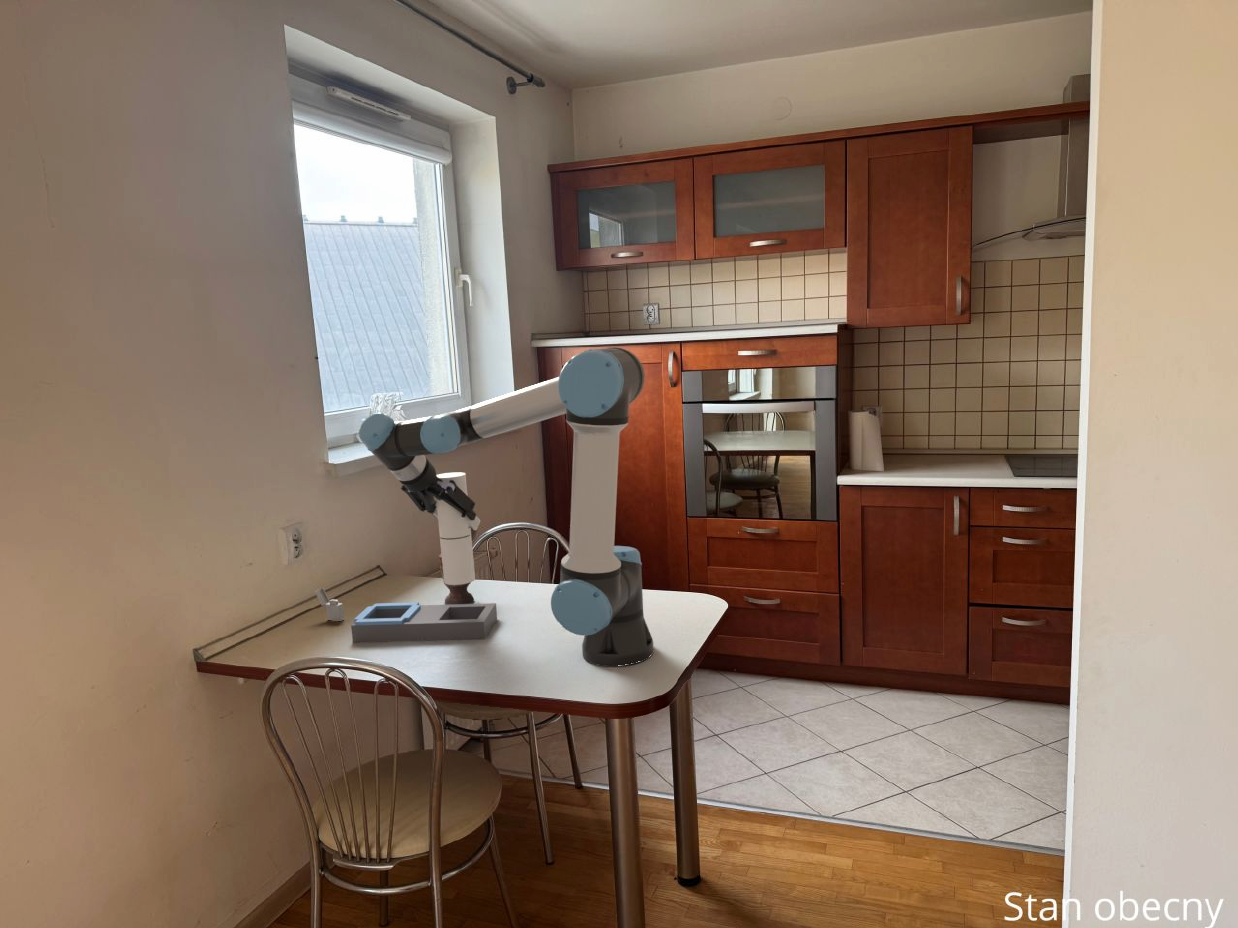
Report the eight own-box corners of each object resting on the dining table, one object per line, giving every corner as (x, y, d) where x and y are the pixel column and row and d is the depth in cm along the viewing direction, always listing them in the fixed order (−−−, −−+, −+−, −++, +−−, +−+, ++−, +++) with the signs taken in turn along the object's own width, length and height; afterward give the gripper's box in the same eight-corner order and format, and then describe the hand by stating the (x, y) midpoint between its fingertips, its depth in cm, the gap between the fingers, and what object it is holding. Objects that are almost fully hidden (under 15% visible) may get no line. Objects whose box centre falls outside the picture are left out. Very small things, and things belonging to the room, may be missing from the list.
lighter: (344, 619, 211) (341, 588, 209) (340, 622, 209) (336, 591, 208) (322, 617, 214) (319, 586, 212) (318, 619, 212) (314, 588, 211)
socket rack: (497, 618, 205) (495, 599, 204) (484, 638, 192) (483, 618, 191) (373, 622, 208) (371, 603, 207) (352, 641, 195) (350, 622, 194)
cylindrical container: (478, 575, 200) (469, 471, 196) (470, 584, 193) (460, 477, 189) (449, 576, 201) (439, 473, 197) (440, 585, 194) (429, 478, 190)
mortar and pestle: (459, 592, 227) (453, 520, 224) (488, 594, 225) (482, 521, 221) (437, 607, 217) (430, 531, 213) (467, 608, 214) (460, 532, 211)
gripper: (368, 482, 184) (423, 536, 201) (443, 483, 175) (493, 540, 192) (382, 454, 188) (435, 509, 205) (456, 454, 179) (504, 512, 196)
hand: (463, 524), depth 198 cm, fingers closed on cylindrical container, 7 cm apart
